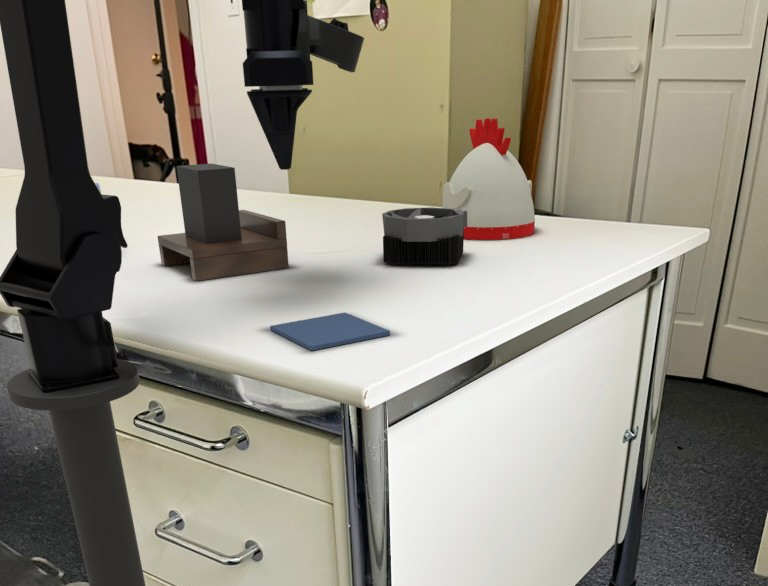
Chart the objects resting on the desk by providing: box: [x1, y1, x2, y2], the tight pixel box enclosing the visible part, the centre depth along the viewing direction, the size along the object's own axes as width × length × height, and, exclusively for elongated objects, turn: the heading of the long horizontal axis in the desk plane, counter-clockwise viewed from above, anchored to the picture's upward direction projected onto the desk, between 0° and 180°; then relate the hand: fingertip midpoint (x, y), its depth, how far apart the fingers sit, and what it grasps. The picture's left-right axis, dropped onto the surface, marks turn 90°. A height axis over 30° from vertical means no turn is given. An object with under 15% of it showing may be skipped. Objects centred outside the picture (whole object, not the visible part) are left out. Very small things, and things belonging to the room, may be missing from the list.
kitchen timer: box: [441, 117, 536, 241], centre depth 115 cm, size 14×14×15 cm
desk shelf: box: [157, 209, 290, 282], centre depth 99 cm, size 12×12×6 cm
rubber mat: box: [269, 312, 391, 352], centre depth 73 cm, size 8×8×1 cm
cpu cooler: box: [381, 206, 467, 266], centre depth 100 cm, size 10×6×10 cm
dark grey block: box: [176, 163, 242, 244], centre depth 96 cm, size 4×7×8 cm, turn 33°
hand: (285, 165), depth 84 cm, fingers open, 9 cm apart
